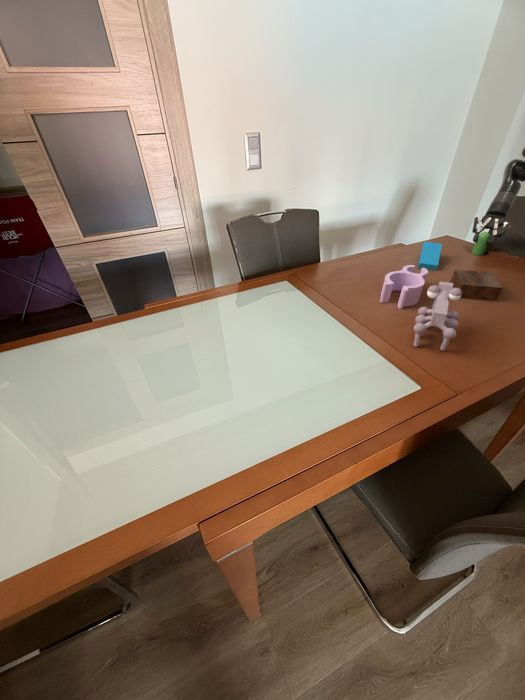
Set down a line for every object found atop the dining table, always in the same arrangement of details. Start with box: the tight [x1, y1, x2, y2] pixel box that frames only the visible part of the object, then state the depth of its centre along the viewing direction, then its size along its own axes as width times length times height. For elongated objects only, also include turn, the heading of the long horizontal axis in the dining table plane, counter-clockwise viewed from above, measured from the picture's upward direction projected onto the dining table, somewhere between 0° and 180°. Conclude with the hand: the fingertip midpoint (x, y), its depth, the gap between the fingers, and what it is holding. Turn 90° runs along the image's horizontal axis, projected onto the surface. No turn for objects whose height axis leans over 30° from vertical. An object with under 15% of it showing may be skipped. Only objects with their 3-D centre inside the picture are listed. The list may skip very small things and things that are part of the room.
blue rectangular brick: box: [417, 241, 443, 271], centre depth 128 cm, size 7×7×18 cm
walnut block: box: [449, 269, 504, 302], centre depth 107 cm, size 12×12×5 cm
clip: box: [379, 264, 429, 310], centre depth 106 cm, size 20×12×7 cm, turn 137°
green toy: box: [471, 231, 491, 256], centre depth 130 cm, size 5×5×9 cm
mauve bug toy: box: [413, 281, 462, 352], centre depth 86 cm, size 20×11×14 cm, turn 152°
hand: (481, 242), depth 129 cm, fingers closed on green toy, 4 cm apart
